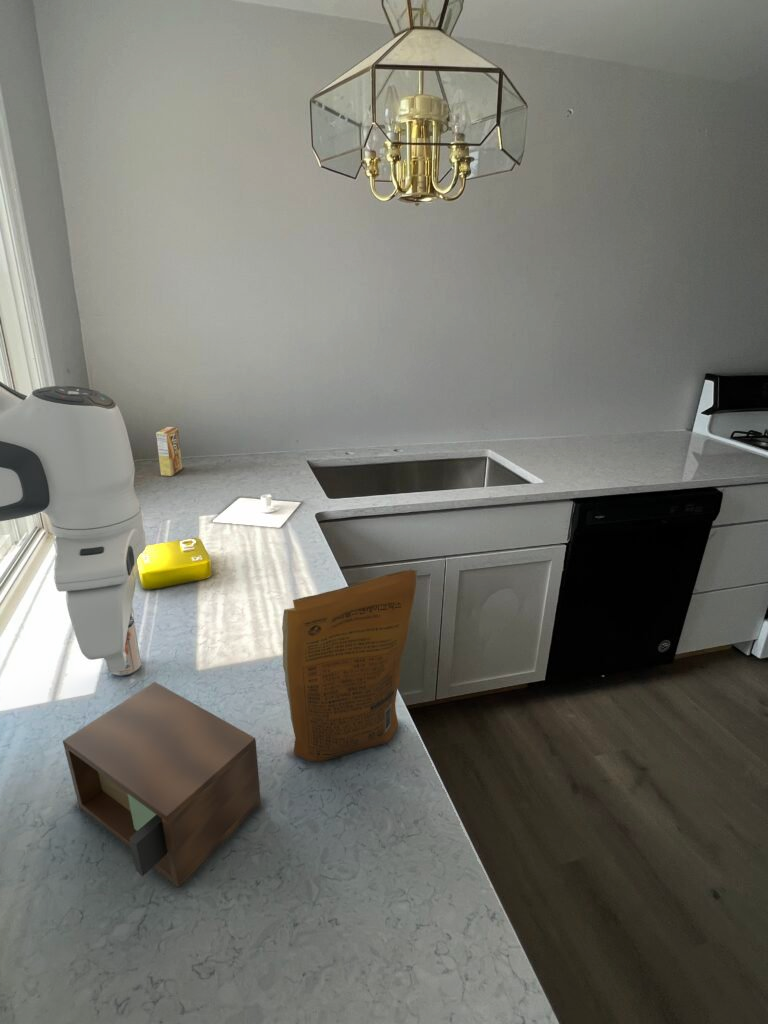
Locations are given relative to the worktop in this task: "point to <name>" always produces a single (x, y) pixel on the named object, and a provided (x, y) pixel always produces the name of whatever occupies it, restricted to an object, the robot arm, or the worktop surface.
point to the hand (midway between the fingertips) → (122, 643)
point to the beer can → (131, 652)
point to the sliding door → (146, 837)
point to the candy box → (169, 451)
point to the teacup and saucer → (258, 512)
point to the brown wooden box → (166, 774)
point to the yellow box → (173, 563)
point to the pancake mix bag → (346, 664)
